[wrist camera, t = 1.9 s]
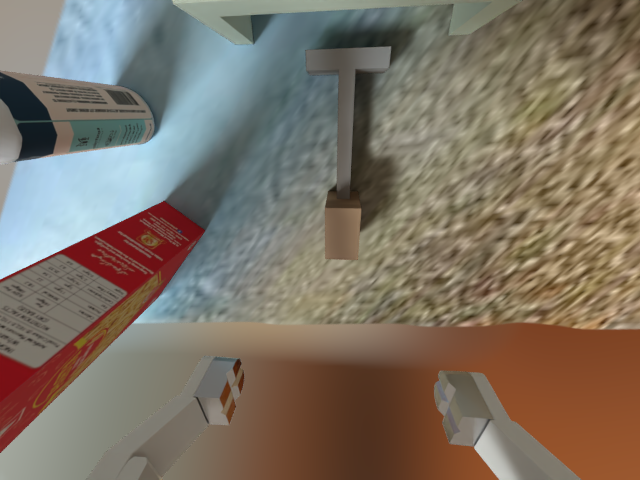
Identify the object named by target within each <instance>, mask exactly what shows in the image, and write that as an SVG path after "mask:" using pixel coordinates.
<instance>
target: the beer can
mask: <svg viewBox="0 0 640 480" xmlns="http://www.w3.org/2000/svg"><path fill="white" fill-rule="evenodd" d="M154 128H155V124H154V118H153V115H152V112H151V110H150V108H149V106H148V105H147V104H146V102H145V101H144V100H143V98H142V97H140V96H139V95H138V94H137V93H136V92H134V91H133V90H131V89H128V88H126V87H122V86H115V85H107V84H100V83H92V82H84V81H76V80H69V79H61V78H53V77H45V76H38V75H30V74H21V73H14V72H6V71H0V164H7V163H11V162H16V161H23V160H30V159H37V158H44V157H51V156H58V155H65V154H72V153H79V152H86V151H94V150H101V149H108V148H115V147H122V146H129V145H140V144H144V143H146V142H148V141H149V140H150V139H151V138H152V136H153V133H154Z"/></svg>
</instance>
